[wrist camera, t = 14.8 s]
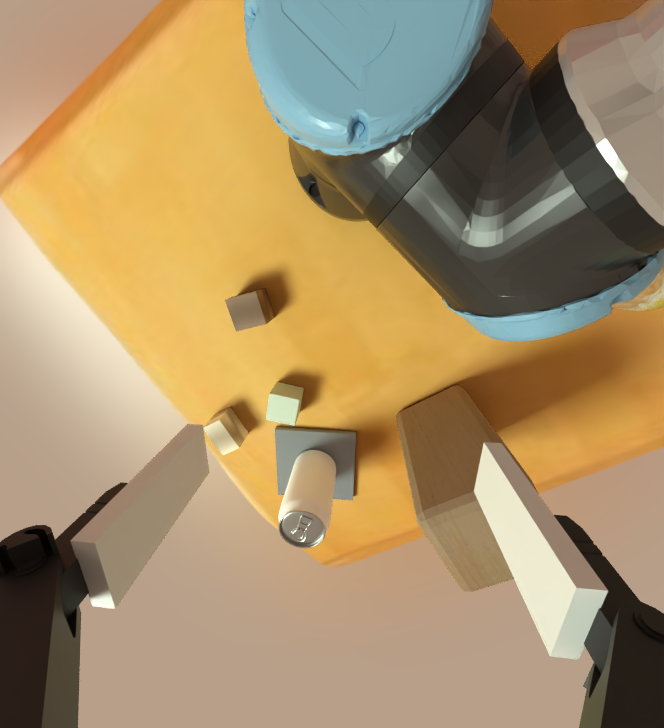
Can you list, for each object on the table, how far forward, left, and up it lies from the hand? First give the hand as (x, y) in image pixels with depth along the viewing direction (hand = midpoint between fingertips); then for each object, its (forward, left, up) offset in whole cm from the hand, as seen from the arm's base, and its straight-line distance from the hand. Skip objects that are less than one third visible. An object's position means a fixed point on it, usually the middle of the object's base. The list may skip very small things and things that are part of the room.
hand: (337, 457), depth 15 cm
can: (+22, -5, -28) cm, 36 cm away
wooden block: (+14, +13, -29) cm, 35 cm away
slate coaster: (+22, -5, -29) cm, 37 cm away
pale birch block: (+16, -18, -29) cm, 38 cm away
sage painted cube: (+11, -9, -29) cm, 32 cm away
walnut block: (-2, -13, -29) cm, 32 cm away
